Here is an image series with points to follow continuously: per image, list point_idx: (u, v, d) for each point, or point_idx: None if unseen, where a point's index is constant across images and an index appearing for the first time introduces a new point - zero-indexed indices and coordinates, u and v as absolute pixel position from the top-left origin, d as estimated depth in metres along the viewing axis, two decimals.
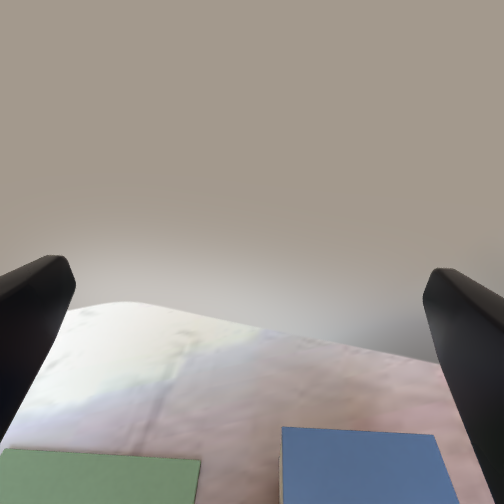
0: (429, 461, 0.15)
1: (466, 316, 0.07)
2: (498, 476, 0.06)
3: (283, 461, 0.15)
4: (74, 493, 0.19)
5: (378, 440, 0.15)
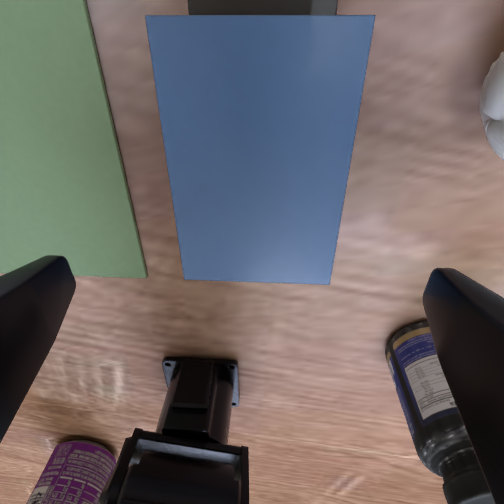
0: (348, 60, 0.11)
1: (466, 316, 0.07)
2: (498, 476, 0.06)
3: (154, 71, 0.11)
4: None
5: (287, 31, 0.10)
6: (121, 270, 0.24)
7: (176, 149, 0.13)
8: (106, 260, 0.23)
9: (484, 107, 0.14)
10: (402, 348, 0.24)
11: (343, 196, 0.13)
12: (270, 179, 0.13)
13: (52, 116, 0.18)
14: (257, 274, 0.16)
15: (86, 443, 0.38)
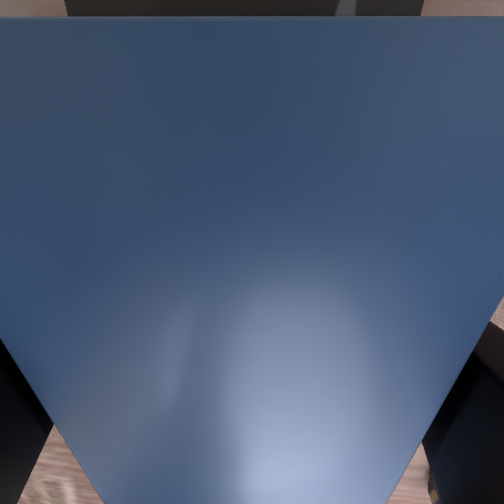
0: None
1: None
2: (442, 473, 0.06)
3: None
4: None
5: (310, 73, 0.03)
6: None
7: (30, 344, 0.05)
8: None
9: None
10: None
11: (427, 428, 0.06)
12: (260, 397, 0.06)
13: None
14: None
15: None
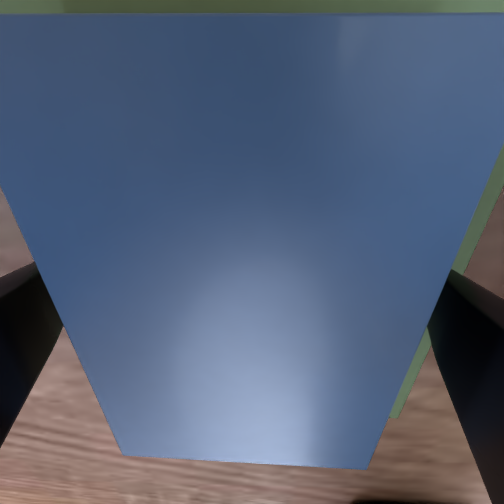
0: (459, 129, 0.04)
1: (463, 316, 0.07)
2: (495, 476, 0.06)
3: None
4: None
5: (304, 56, 0.04)
6: None
7: (70, 290, 0.06)
8: None
9: None
10: None
11: (407, 368, 0.07)
12: (264, 339, 0.07)
13: None
14: (244, 455, 0.09)
15: None
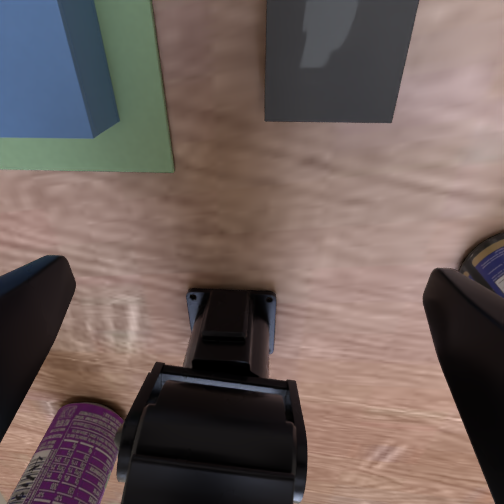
0: None
1: (466, 316, 0.07)
2: (498, 476, 0.06)
3: None
4: None
5: None
6: (142, 161, 0.19)
7: None
8: (124, 146, 0.19)
9: None
10: (488, 261, 0.20)
11: (58, 14, 0.13)
12: None
13: None
14: (16, 127, 0.15)
15: (93, 405, 0.33)
